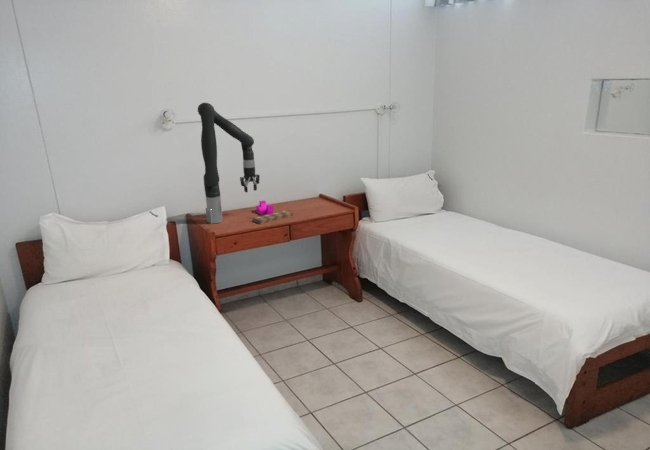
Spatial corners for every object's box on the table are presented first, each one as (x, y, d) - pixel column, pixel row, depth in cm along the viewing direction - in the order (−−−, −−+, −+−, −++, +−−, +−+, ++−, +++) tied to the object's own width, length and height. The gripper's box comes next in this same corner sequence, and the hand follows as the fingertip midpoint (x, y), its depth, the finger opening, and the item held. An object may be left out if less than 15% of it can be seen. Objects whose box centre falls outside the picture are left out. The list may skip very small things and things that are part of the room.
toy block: (256, 212, 326) (255, 201, 324) (264, 210, 329) (264, 200, 327) (265, 217, 314) (264, 206, 311) (273, 215, 316) (272, 205, 314)
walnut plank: (260, 224, 299) (260, 220, 298) (252, 221, 305) (252, 217, 304) (292, 215, 315) (292, 212, 314) (284, 213, 321) (284, 210, 321)
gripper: (242, 168, 297) (244, 194, 302) (261, 165, 306) (263, 190, 311) (236, 167, 302) (238, 192, 308) (255, 164, 311) (256, 188, 317)
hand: (250, 191), depth 309 cm, fingers open, 6 cm apart
